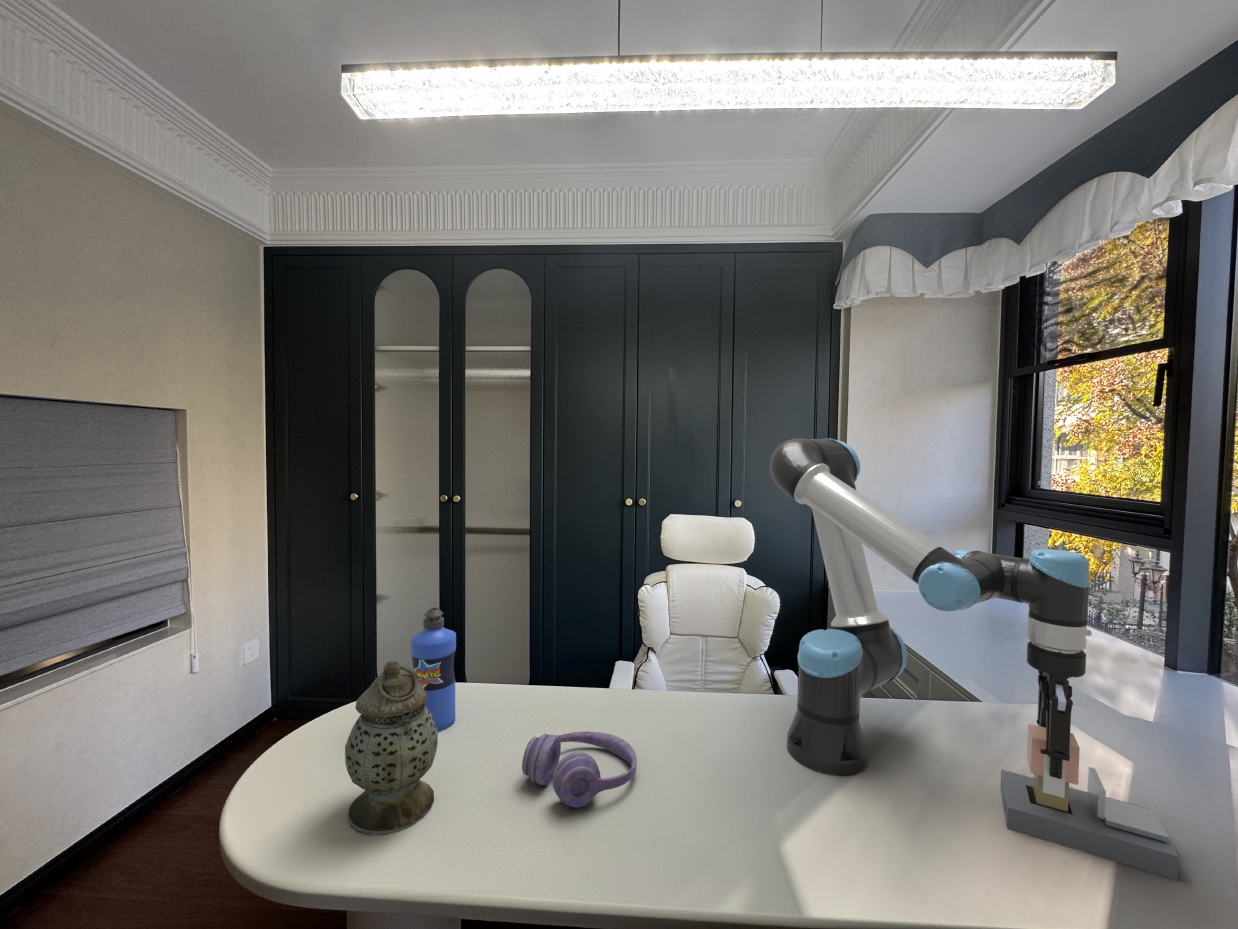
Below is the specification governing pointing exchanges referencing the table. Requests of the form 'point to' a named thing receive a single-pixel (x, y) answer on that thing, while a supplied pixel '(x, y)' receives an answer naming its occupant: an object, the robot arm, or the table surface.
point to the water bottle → (436, 667)
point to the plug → (1036, 767)
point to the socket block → (1082, 828)
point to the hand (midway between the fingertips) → (1050, 784)
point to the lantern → (391, 754)
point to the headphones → (575, 765)
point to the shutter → (1123, 812)
